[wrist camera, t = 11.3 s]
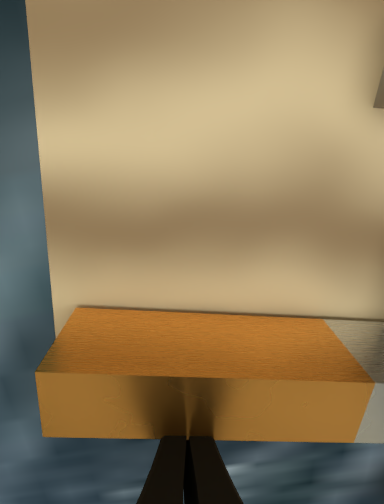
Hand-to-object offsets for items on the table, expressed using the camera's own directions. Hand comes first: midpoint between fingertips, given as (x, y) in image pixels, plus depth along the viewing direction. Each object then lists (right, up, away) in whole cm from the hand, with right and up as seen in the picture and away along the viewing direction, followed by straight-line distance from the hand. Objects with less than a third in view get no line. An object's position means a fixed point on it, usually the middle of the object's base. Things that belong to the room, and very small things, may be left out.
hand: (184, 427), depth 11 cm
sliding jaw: (+6, +3, +2) cm, 6 cm away
